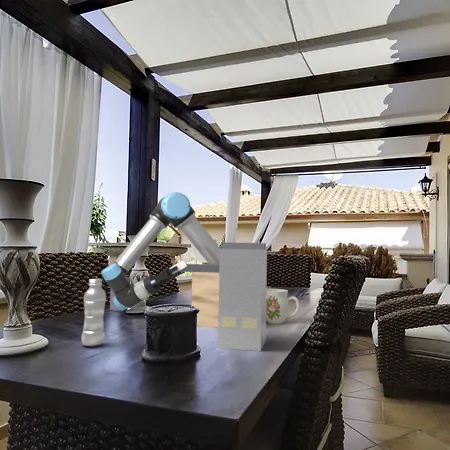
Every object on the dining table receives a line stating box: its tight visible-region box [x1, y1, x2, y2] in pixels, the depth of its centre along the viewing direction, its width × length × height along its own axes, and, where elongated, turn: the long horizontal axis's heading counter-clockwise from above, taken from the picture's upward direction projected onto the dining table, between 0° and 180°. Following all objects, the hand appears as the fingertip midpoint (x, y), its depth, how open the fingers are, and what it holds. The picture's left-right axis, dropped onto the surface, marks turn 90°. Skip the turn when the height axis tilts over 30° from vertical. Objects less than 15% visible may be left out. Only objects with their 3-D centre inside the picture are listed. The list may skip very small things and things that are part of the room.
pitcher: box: [266, 287, 300, 325], centre depth 156 cm, size 11×18×14 cm, turn 69°
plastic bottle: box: [81, 278, 107, 347], centre depth 115 cm, size 6×7×20 cm
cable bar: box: [174, 263, 220, 273], centre depth 151 cm, size 4×24×3 cm, turn 77°
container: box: [109, 276, 131, 312], centre depth 180 cm, size 10×10×15 cm
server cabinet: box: [217, 242, 268, 352], centre depth 120 cm, size 13×13×32 cm
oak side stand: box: [191, 272, 219, 328], centre depth 150 cm, size 9×18×20 cm, turn 77°
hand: (190, 262), depth 153 cm, fingers open, 13 cm apart
